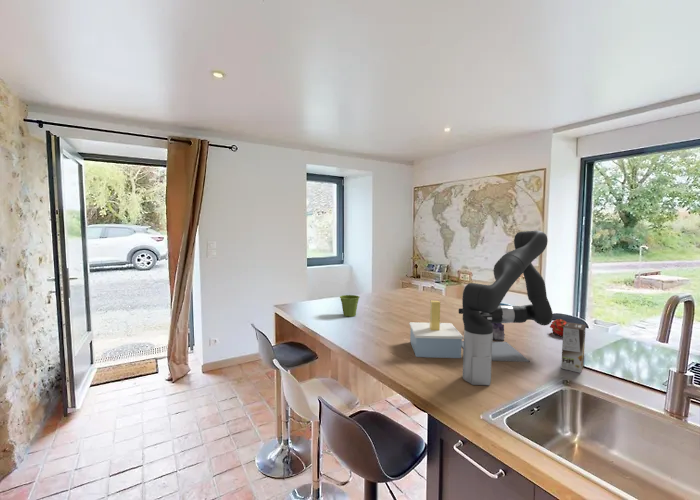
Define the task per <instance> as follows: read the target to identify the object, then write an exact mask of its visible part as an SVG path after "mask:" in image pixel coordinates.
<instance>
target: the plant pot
mask: <svg viewBox="0 0 700 500" xmlns="http://www.w3.org/2000/svg"><path fill="white" fill-rule="evenodd" d="M360 298H361V297H360V296H359V295H357V294H356V295H355V294H345V295H340V296H339V299H340V301H341V307H342V313H343V314H342V315H343V316H344V317H345V318H346V317H350V318H352V317H356V315H357V308H358V303H359V300H360Z"/></svg>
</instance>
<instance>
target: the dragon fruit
mask: <svg viewBox="0 0 700 500" xmlns="http://www.w3.org/2000/svg"><path fill="white" fill-rule="evenodd" d="M567 322H568V321H566V320H564V319H561V318H557V319H555V320H552V321H551V323H550V326H549V328H550V329H552V333H553V334H554V335H555V334H556V335H558V336H559V337H560V338H561V337H562V338H563V326H564V325H565V324H566V323H567Z"/></svg>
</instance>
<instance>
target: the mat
mask: <svg viewBox="0 0 700 500" xmlns="http://www.w3.org/2000/svg"><path fill="white" fill-rule="evenodd" d="M463 347H464V340H462V345H461V349H463ZM492 362H517V363H518V362H524V363H529V362H530V360H529V359H528V358H526V357H525V356H524V355H523V354H522V353H521V352H519V350H517V349H516V348H515V347H513V346H512V345H511V344H509V343H508V342H507V341H492Z"/></svg>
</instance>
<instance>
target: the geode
mask: <svg viewBox="0 0 700 500" xmlns="http://www.w3.org/2000/svg"><path fill="white" fill-rule="evenodd" d="M492 325H493V339H492V340H494V342H505V336H506V334H505V325H504V324H503V323H492Z"/></svg>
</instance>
